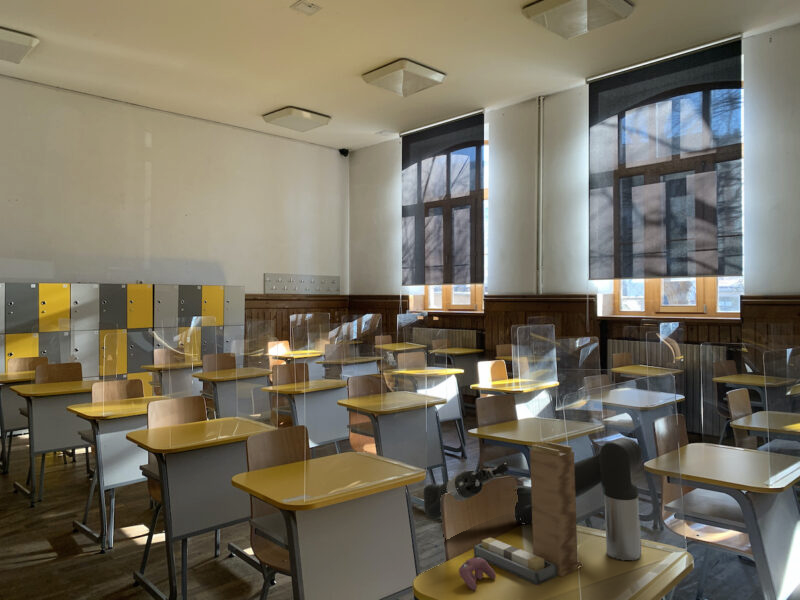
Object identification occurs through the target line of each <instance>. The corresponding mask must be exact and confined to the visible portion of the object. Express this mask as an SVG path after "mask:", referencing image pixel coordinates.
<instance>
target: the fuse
mask: <svg viewBox="0 0 800 600" xmlns="http://www.w3.org/2000/svg"><path fill="white" fill-rule="evenodd" d="M481 543H482V548H483V549H485V550H488V551H490V552H492V553H495V554H497V555H499V556H501V557H504V558H506V559H508V560H511V561H513V562H515V563H518V564H520V565H522V566H525V567H527V568H529V569H532V570H534V571H536V572H537V571H540V570H542V569H544V568H545V565H544V559H543V558H541V557H538V556H536V555H534V554H533V553H531V552H528V551H526V550H524V549H521V548H518V547H516V546H513V545H510V544H508V543H505V542H503V541H500V540H497V539H496V538H493V537H487V538H485V539H482V540H481Z"/></svg>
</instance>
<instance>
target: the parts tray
mask: <svg viewBox="0 0 800 600" xmlns="http://www.w3.org/2000/svg"><path fill="white" fill-rule="evenodd" d="M473 554H474V555H473V556H474V557H473V558H475V557H482V558H483V559H485V560H486V562H487V563H488V564H490V565H493V566H495V567H496V568H499V569H501V570H503V571H505V572H507V573H510V574H512V575H514V576H517V577H519V578H521V579H523V580H525V581H528V582H530V583H532V584H534V585H536V586H540V585H541V584H543V583H545V582H547V581H549V580H552V579H554V578H555V577H558V575H557V565H556V564H554V563H551V562H549V561H546V560H544V565H545V568H544V569H542V570H540V571H537V572H536V571H534V570H532V569H529V568H527V567H525V566H522V565H520V564H518V563H515V562H513V561H511V560H508V559H506V558H504V557H501V556H499V555H497V554H495V553H492V552H490V551H488V550H485V549H483V548H482V542H481V543H478V544H476V545H474V546H473Z"/></svg>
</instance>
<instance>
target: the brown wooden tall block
mask: <svg viewBox="0 0 800 600" xmlns="http://www.w3.org/2000/svg"><path fill="white" fill-rule="evenodd" d="M529 459H530V460H529V464H530V487H531V497H532V522H531V523H532V545H533V547H532V548H533V550H532V551H533V552H532V554H533V555H536V556H538V557H541V558H543V559H544V560H546V561H549V562H551V563H554V564H556V565H557V576H559V577H561V578H562V577H565V576H566V575H568V574H570V573H573V572H575V571H577V570H578V569H577V568H578V567H579V566H582V567H583V563H582V562H580V561H579V558H578V557H579V556H578V555H579V554H578V533H577V505H576V504H577V502H576V501H577V500H576V499H577V497H575V469H574V463H575V452H574V451H573V447H572V446H569V445H564V444H559V443H555V442H550V441H544V442H543V446H541V445H537V444H536V445H535V444H531V450H530V451H529ZM576 569H577V570H576Z"/></svg>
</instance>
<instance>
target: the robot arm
mask: <svg viewBox="0 0 800 600" xmlns="http://www.w3.org/2000/svg"><path fill="white" fill-rule="evenodd" d="M642 456H643V452H642V448H641V446H640V445H639V443H638V442H637V441H635V440H634V439H632V438H627V437H619V438H616V439H613V440H610V441H608V442H606V443H603V445H602V446H601V448H600V450H599V453H597V454H595V455H592V456H589V457H588V458H587V457H586V458H585V459H582V460H579V461H576V462H574V469H575V497H576V498H578V497H580V496H582V495H584V494H585V493H587V492H589V491H590V490H592V489H593V488H596V487H597V486H598V485H600V484H601V485H602V488H603V491H604V516H605V517H604V519H605V522H604V523H605V546H606V547H605V548H606V554H607V555H608V557H610V556H611V558H612V557H613V558H612V559H614V558H617V559H616V560H618V559H621V560H620V561H624V560H632V561H637V560H639V559H640V558H641V554H642V535H641V533H642V532H641V529H642V528H641V520H640V513H639V511H640V510H639V509H640V508H639V488H638V487H637V485H636V484H634V483H632V478H631V477H632V476H631V475H632V474H631V470H634V469H635V468H637V466H639V464H640V462H641V461H642ZM508 471H509V467H508V465H507V463H506V462H505V463H502V464H499V465H498V466H495V467H493V468H491V467H489V468H482V469H481V470H479V471H478V470H477V471H475V470H473V469H466V470H464V471H463V472H460V473H459V474H457V475H455V476H453V477H452V478H451V479H450V480H448V481H446V482H444V483H442V484H437V483H431V484H430V483H429V484H428V485H426V486H425V487H424V489H423V503H424V504H423V505H424V513H425V514H426V516H427V517H429V518H430V519H439V518H442V517H441V512H440V498H441V495H443V494H445V493H448V492H449V491H451V492H450V493H451V494H452V496H453V497H454V499H456V500H458V501H463V500H466V499H468V498H470V497H472V496H474V495H476V494H478V493H479V492H480V491H482V489H483V485H486V484H488V482H491V481H493V480H495V479H496V478H499V477H502V476H504V475H505V472H508ZM515 487H516V486H515ZM457 488H458V489H457ZM516 488H518V489H517V495H518V502H517V503H516V506H515V518H516V520H517V521H518V522H519V524H529V523H532V497H531V485H530V486H528V485H517V487H516ZM452 490H453V491H452ZM515 491H516V490H515ZM452 492H453V493H452ZM515 518H514V519H515ZM520 518H521V520H520ZM516 520H515V521H516ZM517 521H516V522H517ZM518 522H517V523H518Z"/></svg>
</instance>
